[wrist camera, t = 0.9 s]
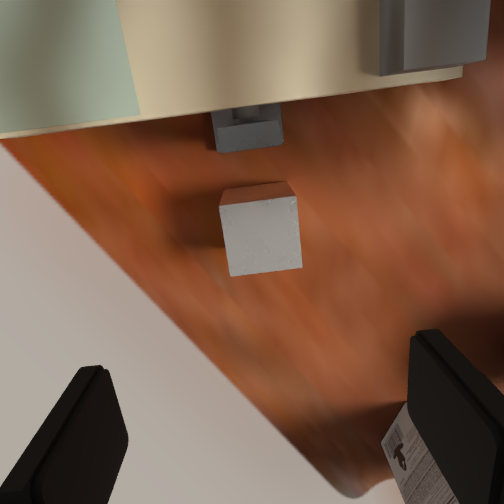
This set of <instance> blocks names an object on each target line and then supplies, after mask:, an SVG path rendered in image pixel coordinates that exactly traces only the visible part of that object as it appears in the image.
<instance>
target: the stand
mask: <svg viewBox="0 0 504 504" xmlns="http://www.w3.org/2000/svg"><path fill="white" fill-rule="evenodd" d="M259 108H260V116H256V117H249V118H241V119H233V115H232V109H228V110H220V111H213V112H211V117H212V123H213V130H214V136H215V142H216V149H217V152H220V151H221V153H227V152H235V151H242V150H249V149H257V148H264V147H271V146H279V145H281V143H284V138H283V128H282V117H281V107H280V103H273V104H265V105H259Z"/></svg>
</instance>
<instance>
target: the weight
mask: <svg viewBox="0 0 504 504" xmlns="http://www.w3.org/2000/svg"><path fill="white" fill-rule="evenodd" d="M219 211H220V217H221V223H222V229H223V235H224V241H225V247H226V253H227V259H228V265H229V271H230V277H231V276H239V275H247V274H255V273H263V272H271V271H279V270H287V269H295V268H302V257H301V245H300V234H299V222H298V211H297V200H296V195H295V193H294V192H293V190H292V189H291V187H290V186H289V184H288V183H287V181H283V182H276V183H268V184H261V185H253V186H246V187H238V188H231V189H224V192H223V195H222V198H221V201H220V204H219Z"/></svg>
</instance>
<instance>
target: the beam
mask: <svg viewBox="0 0 504 504" xmlns="http://www.w3.org/2000/svg"><path fill="white" fill-rule="evenodd" d="M490 5H491V0H0V139H3V138H18V137H26V136H33V135H41V134H48V133H56V132H63V131H71V130H78V129H86V128H93V127H101V126H108V125H116V124H123V123H130V122H138V121H145V120H153V119H160V118H168V117H175V116H183V115H190V114H198V113H205V112H213V111H220V110H228V109H232V115H233V119H241V118H249V117H256V116H260V108H259V105H265V104H273V103H280V102H288V101H295V100H303V99H310V98H318V97H325V96H333V95H340V94H348V93H355V92H363V91H370V90H378V89H385V88H393V87H400V86H407V85H415V84H422V83H430V82H437V81H444V80H449V79H455V78H460V77H462V71H463V65H466V64H470V63H474V62H479V61H483V60H486V51H487V39H488V28H489V16H490Z"/></svg>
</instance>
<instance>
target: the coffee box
mask: <svg viewBox="0 0 504 504" xmlns="http://www.w3.org/2000/svg"><path fill="white" fill-rule="evenodd" d="M381 445H382V448H383V450H384V453H385V455H386V458H387V460H388V462H389V465H390V467H391V470H392V472H393V475H394V477H395V480H396V482H397V485H398V487H399V490H400V492H401V494H402V497H403V500H404V502H405V504H459V502H458V500H457V499H456V497H455V495H454V494H453V492H452V490H451V488H450V487H449V485H448V483H447V481H446V480H445V478H444V476H443V474H442V473H441V471H440V469H439V467H438V466H437V464H436V462H435V460H434V459H433V457H432V455H431V453H430V452H429V450H428V448H427V446H426V445H425V443H424V441H423V440H422V438H421V436H420V434H419V433H418V431H417V429H416V427H415V426H414V424H413V422H412V420H411V418H410V416H409V414H408V410H407V402H406V403H405V404H404V405H403V407H402V409H401V410H400V412H399V414H398V415H397V417H396V419H395V420H394V422H393V423H392V425H391V427H390V428H389V430H388V432H387V433H386V435H385V437H384V438H383V440H382V441H381Z"/></svg>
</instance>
